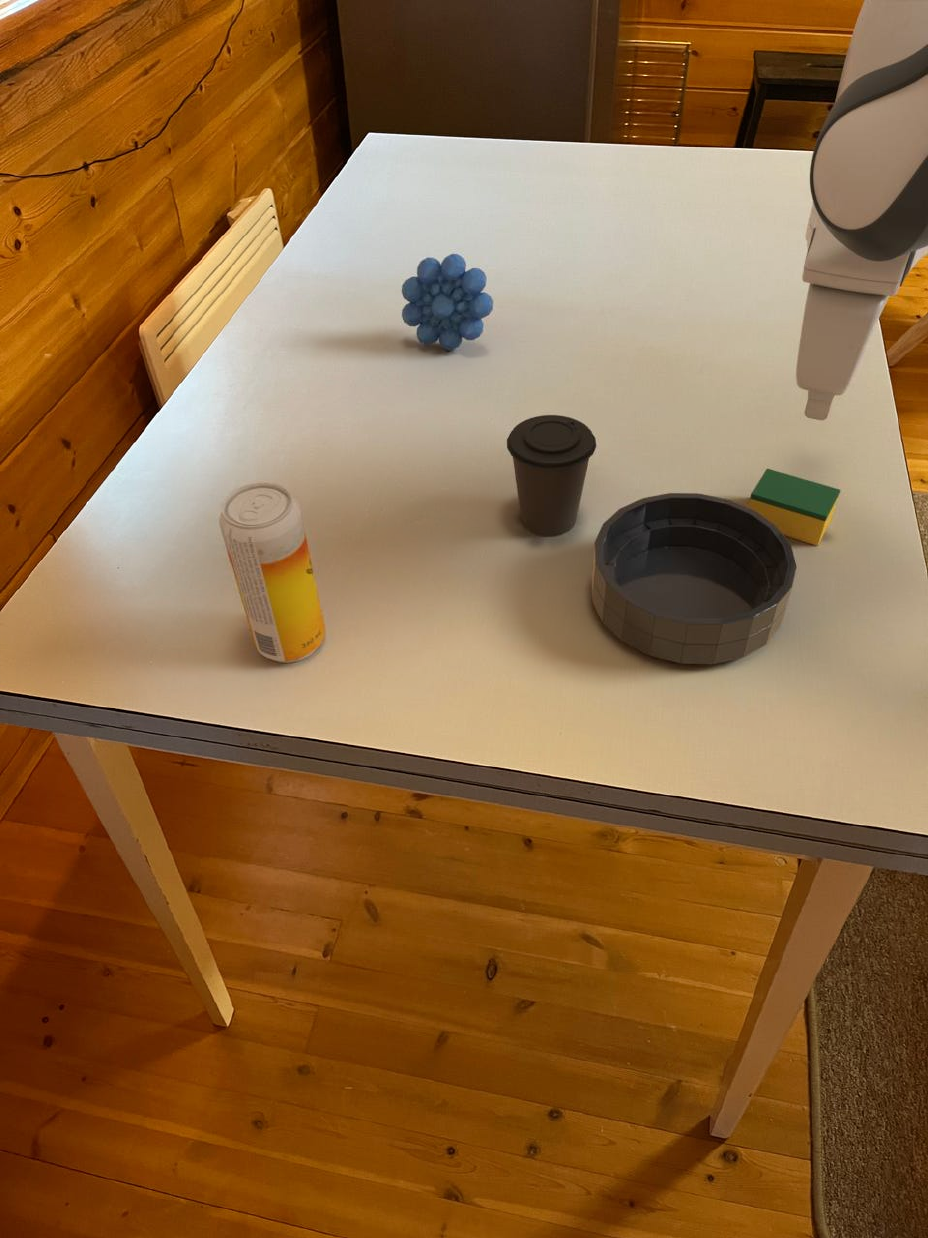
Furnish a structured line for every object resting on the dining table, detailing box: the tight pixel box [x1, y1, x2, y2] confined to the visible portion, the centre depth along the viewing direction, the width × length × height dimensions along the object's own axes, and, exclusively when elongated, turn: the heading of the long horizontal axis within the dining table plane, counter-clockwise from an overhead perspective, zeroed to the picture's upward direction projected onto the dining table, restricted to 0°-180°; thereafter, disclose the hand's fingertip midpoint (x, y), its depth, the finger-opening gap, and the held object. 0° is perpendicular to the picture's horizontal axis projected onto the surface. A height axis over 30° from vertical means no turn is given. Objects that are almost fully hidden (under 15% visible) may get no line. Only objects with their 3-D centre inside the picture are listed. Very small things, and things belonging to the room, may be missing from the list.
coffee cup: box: [506, 414, 597, 537], centre depth 86 cm, size 8×8×10 cm
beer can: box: [218, 481, 326, 664], centre depth 74 cm, size 6×6×15 cm
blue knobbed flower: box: [401, 253, 494, 351], centre depth 110 cm, size 12×7×12 cm, turn 70°
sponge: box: [747, 468, 841, 546], centre depth 87 cm, size 7×4×4 cm, turn 59°
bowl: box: [591, 492, 798, 665], centre depth 79 cm, size 16×16×6 cm
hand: (827, 385), depth 78 cm, fingers open, 8 cm apart
